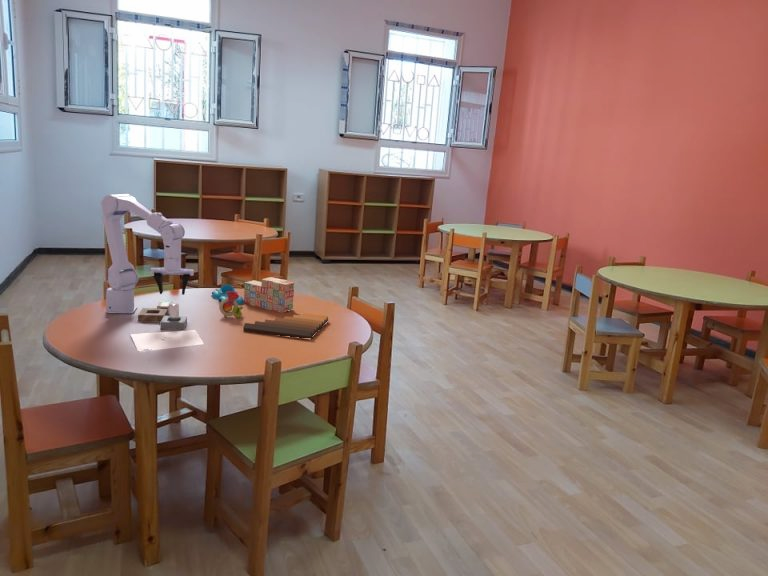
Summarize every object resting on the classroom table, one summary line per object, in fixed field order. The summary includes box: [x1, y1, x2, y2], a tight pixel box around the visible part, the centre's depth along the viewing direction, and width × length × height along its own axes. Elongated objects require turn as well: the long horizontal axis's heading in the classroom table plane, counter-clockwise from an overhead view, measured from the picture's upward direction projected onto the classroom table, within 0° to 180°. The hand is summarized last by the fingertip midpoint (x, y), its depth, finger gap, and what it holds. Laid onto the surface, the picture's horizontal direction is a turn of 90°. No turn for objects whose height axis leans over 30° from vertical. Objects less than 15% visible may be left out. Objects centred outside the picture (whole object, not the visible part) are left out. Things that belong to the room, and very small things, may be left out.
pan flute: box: [242, 312, 329, 338], centre depth 216 cm, size 25×3×25 cm
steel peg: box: [168, 302, 180, 321], centre depth 205 cm, size 3×3×8 cm
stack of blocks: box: [243, 276, 295, 313], centre depth 240 cm, size 21×6×12 cm, turn 63°
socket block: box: [137, 307, 169, 323], centre depth 212 cm, size 9×9×2 cm
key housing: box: [156, 301, 174, 316], centre depth 220 cm, size 5×6×3 cm
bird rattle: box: [219, 291, 244, 318], centre depth 221 cm, size 6×11×9 cm
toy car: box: [210, 283, 245, 306], centre depth 246 cm, size 11×18×7 cm, turn 31°
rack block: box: [159, 315, 188, 330], centre depth 206 cm, size 8×8×2 cm
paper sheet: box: [130, 329, 205, 353], centre depth 186 cm, size 24×29×1 cm
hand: (172, 293), depth 209 cm, fingers open, 7 cm apart
